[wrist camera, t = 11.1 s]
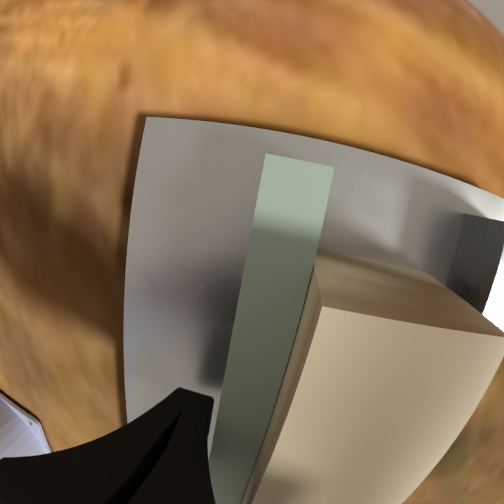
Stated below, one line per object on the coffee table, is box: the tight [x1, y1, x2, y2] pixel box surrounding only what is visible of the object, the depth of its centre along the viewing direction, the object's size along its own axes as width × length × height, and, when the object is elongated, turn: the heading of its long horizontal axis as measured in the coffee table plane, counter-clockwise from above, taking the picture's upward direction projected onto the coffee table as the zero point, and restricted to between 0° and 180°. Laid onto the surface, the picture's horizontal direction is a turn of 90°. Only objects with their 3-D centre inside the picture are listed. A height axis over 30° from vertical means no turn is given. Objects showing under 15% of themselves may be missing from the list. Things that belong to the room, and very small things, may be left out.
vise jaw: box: [209, 154, 334, 504], centre depth 9 cm, size 2×17×2 cm, turn 169°
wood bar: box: [240, 248, 504, 504], centre depth 8 cm, size 4×12×5 cm, turn 170°
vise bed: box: [124, 117, 504, 460], centre depth 10 cm, size 13×19×4 cm
